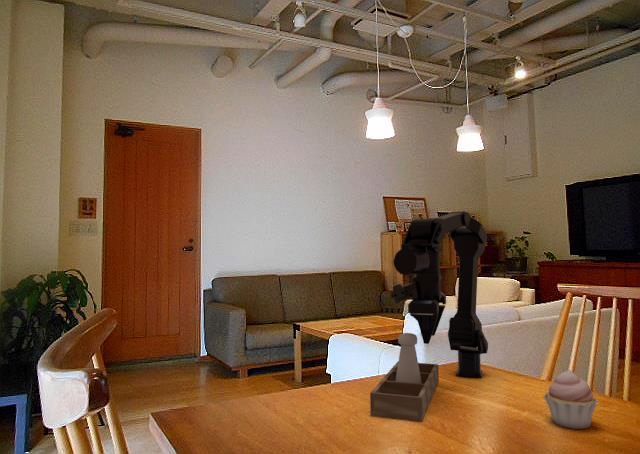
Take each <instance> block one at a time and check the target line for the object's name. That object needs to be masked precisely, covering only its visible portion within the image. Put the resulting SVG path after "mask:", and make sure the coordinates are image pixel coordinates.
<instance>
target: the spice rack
mask: <svg viewBox="0 0 640 454" xmlns="http://www.w3.org/2000/svg"><path fill="white" fill-rule="evenodd" d="M418 366H419V371H420V376H421V383H409V382H398V381H396V374H397V368H398V361H397V362H396V363H395V364H394V365H393V366H392V367H391V368H390V370H388V372H387V373H386V374H385V376H383V378H381V380H380V381H379V382H378V384H377V385H376V386H375V387H374V388H373V389H372V391H371V392H369V393H370V394H369V395H370V397H369V398H370V401H369V404H370V408H369V409H370V417H379V418H387V419H394V420H395V419H396V420H402V421H411V422H413V421H414V422H420V423H422V422H423V420H424V418H425V416H426V414H427V411H428V408H429V406H430V404H431V401H432V399H433V397H434V394H435V392H436V390H437V388H438V385H439V381H440V380H439V364H438V363H423V362H418Z"/></svg>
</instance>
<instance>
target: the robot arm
mask: <svg viewBox="0 0 640 454" xmlns="http://www.w3.org/2000/svg"><path fill="white" fill-rule="evenodd" d="M448 233H449V234H448ZM446 234H448V236H449V238H450V239H451V241H452V242H453V249H454V251H455V253H456V254H457V256H458V259H459V263H458V264H459V265H458V266H459V267H458V285H457V287H458V288H457V290H458V291H457V307H456V309H457V310H456V312H455V314H454V315H453V317H450V318H449V320H448V323H449V324H448V327H449V328H448V331H447V337H448V338H447V339H448V343H449V348H450V349H449V350H450V351H456V352H457V365H458V368H457V370H456V371H455V372H456V373H455V375H456V377H467V378H481V379H482V378H483V372H484V371H483V370H482V366H481V355H482V354H484V355H485V354H488V349H489V342H488V341H487V338H486V336H485V333H484V332H483V325H482V322H481V321H480V318H479V316H478V315H477V295H478V293H477V291H478V290H477V289H478V273H479V272H478V268H479V267H478V266H479V260H480V258H481V256H482V255H483V253H484V252H485V251H486V243H487V242H488V234H487V231H486V230H485V227H484V225H483V224H482V223H481V222H480V221H478V220H476V219H475V218H473V217H472V216H471V215H470V213H469V212H468V211H464V210H461V211H450V212H449V213H447V214H444V215H441V216H438V217H432V218H431V217H430V218H415V219H414V218H413V219H412V220H411V221H410V224H409V226H408V228H407V231H406V234H405V236H404V239H403V241H402V243H401V244H400V248H401V249H400V250H398V251H397V252H396V253H395V255H394V257H393V266H394V268H395V270H396V272H398V273H399V275H400V274H401V275H403V276H409V275H414V276H413V277H412V279H411V280H412V282H411V283H409V284H406V285H403V284H401V283H397V284H396V285H393V286H392V290H390V294H391V295H390V297H391V299H393V302H394V303H395V304H396V305H397V304H400V303H401V302H402V301H405V300H408V299H412V300H411V301H410V302H409V303H408V304H407V313H408V314H409V315H410V316H411V317H413V318H414V319H415V320H416V321H417V323H418V326H419V327H418V328H419V330H420V334H421V337H422V341H423V344H424V345H429V344H430V342H431V339H432V337H434V336H436V333H437V330H438V328H439V324H440V321H441V319H442V316H443V313H444V310H445V308H446V304H447V295H446V293H444V292H443V291H441V281H442V275H441V272H440V271H441V265H440V264H441V262H440V253H442V252H443V248H442V247H441V246H440V245H439V244H440V242H441V241H442V240H444V239H445V238H446Z"/></svg>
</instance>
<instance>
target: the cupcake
mask: <svg viewBox="0 0 640 454" xmlns="http://www.w3.org/2000/svg"><path fill="white" fill-rule="evenodd" d="M543 398H544V400H545V402H546V404H547V406H548V408H549V411H550V412H549V413H550V415H551V420H552V421H553V422H554V424H555V425H558V426H561V427H564V428H568V429H575V430H582V429H584V430H585V429H587V428H588V429H589V427H590V426H591V425H592V420H593V415H594V414H593V413H594V410H595V409H596V407H597V405H598V402H599V400H598V399H596V398H594V392H593V391H592V388H590V384H588V383H587V382H586V381H585V380H583V379H581V378H579V377H578V376H577V375H576V373H574V372H573V371H572V370H571V369H568V370H566V371H563V372H561V373H560V374H558V375H557V376H556V377H555V379H554V381H553V382H552V383H551V384H550V385H549V386H548V392H545V393H544V395H543Z"/></svg>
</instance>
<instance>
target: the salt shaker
mask: <svg viewBox="0 0 640 454" xmlns="http://www.w3.org/2000/svg"><path fill="white" fill-rule="evenodd" d="M397 340H398V344H399V345H400V349H399V355H398V361H397V362H398V368H397V374H396V381H398V382H409V383H421V376H420V371H419V366H418V363H419V362H418V361H419V360H418V355H417V350H416V345H417V344H418V335H416V334H415V333H412V332H404V333H403V332H402V333H400V334H399V335H398V338H397Z"/></svg>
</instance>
